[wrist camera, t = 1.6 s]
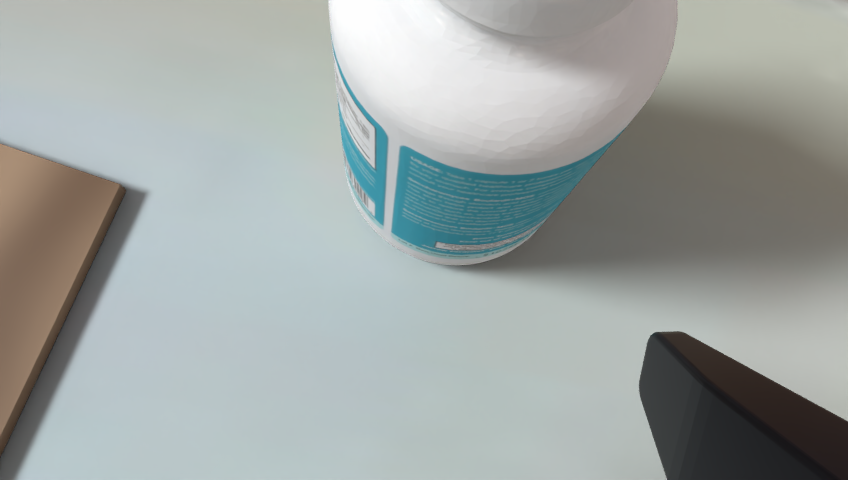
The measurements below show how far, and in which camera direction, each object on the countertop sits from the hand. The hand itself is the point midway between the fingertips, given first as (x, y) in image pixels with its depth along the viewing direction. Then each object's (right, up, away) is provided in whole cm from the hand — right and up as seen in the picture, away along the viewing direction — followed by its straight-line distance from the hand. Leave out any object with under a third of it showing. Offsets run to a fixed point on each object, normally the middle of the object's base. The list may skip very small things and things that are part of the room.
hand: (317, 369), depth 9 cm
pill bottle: (+2, +4, +15) cm, 16 cm away
